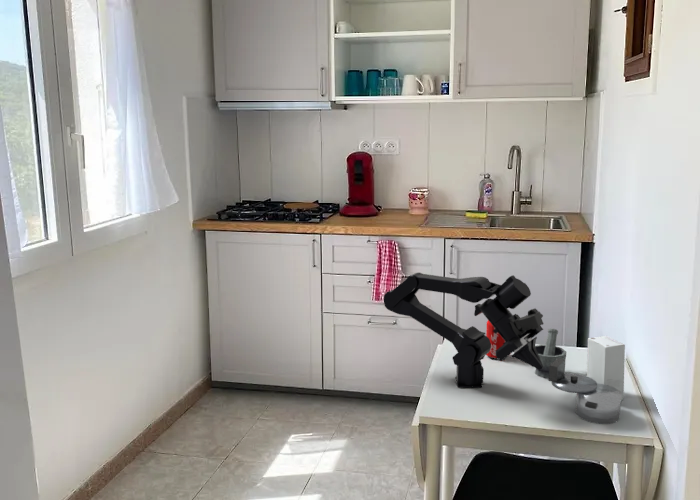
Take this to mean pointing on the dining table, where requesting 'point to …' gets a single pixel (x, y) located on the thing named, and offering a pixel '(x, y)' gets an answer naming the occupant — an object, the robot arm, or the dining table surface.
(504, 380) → the dining table surface
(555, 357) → the mortar and pestle
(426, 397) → the dining table surface
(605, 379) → the skincare box
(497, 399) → the dining table surface
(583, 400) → the pot
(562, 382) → the lid
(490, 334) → the soda can
